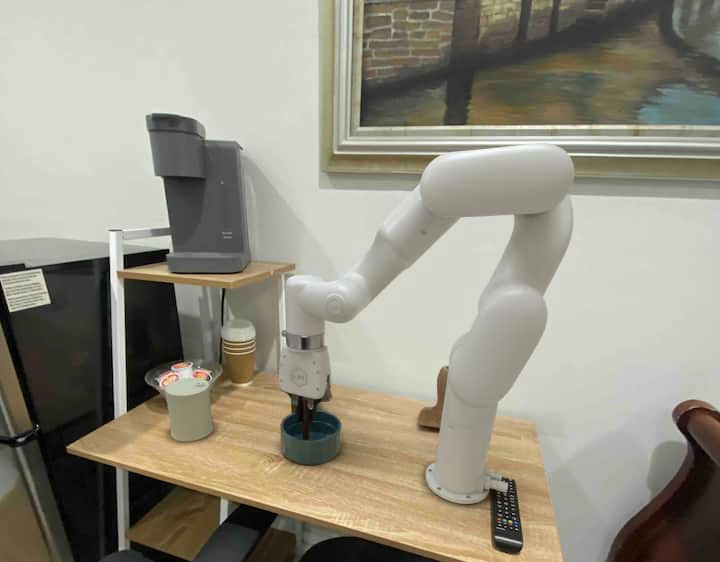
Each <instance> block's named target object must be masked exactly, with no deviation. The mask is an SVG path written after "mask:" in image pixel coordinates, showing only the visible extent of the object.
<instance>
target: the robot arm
mask: <svg viewBox="0 0 720 562" xmlns="http://www.w3.org/2000/svg"><path fill="white" fill-rule="evenodd" d="M574 181H575V166H574V162H573V160H572V157H571V156H570V155H569V153H568V152H567V151H566V150H565V149H564V148H562V147H561V146H558V145H556V144H552V143H548V142H536V143H535V142H534V143H527V144H517V145H516V144H515V145H507V146H500V147H490V148H482V149H480V148H479V149H467V150H458V151H450V152H445V153H443V154H440V155H438V156H437V157H436V158H433V160H431V161H430V162H429V163H428V164H427V166H426V167H425V169H424V170H423V172H422V175H421V177H420V182H419V183H418V185H417V186H416V187H415V188H414V189H413V190H412V191H411V192H410V194H408V196H407V197H406V198H405V199H404V200H403V201H402V202H401V203H400V204H399V205H398V207H396V209H395V210H393V212H392V213H391V214H390V215H389V216H388V217H387V218H386V219H385V220H384V221H383V222H382V223H381V225H380V226H379V228H378V229H377V232H376V235H375V237H374V240H373V242H372V244H371V246H370V247H369V249H368V250H367V251H366V252H365V254H363V256H362V257H361V258H360V259H359V260H358V261H357V262H356V263H355V264H354V265H353V267H351V269H349V271H347V273H345V275H343V276H341V277H339V278H338V279H336V280H332V281H329V282H327V281H326V282H325V280H324V278H322V277H320V276H317V275H310V274H295V275H292V276H289V277H287V280H286V281H285V286H284V290H285V329H282V331H281V334H280V335H281V337H284V338H285V343H283V344H282V347H281V351H280V356H279V364H278V365H279V366H278V387H279V389H280V391H281V392H283V393H285V394H287V395H288V397H289V399H290V400H291V399H292V400H293V404H294V405H295V415H296V422H297V423H300V422H302V398H303V397H308V407H307V408H306V409H305V424H306V425H310V424H311V423H312V422H313V421H314V420H315V419H316V405H318V406H319V404H320V403H328V402H330V401H331V400H332V399H333V397H334V396H333V394H332V391H331V388H332V367H331V366H332V365H331V357H330V353H329V347H328V345H326V322H329V323H334V324H346V323H349V322H352V321H353V320H354V319H355V318H356V317H357V316H359V314H360V313H361V312H362V311H363V310H365V309H366V308H367V307H368V306H369V305H370V304H371V303H372V302H373V301H374V300H375V299H376V298H377V297H379V295H380V294H381V293H382V292H383V291H384V290H385V289H386V288H387V287H388V286H389V285H390V284H391V283H392V282H393V281H394V280H395V279H397V278H398V276H400V275H401V274H402V273H403V272H405V271H406V270H408V269H410V268H411V267H412V266H413V265H414V264H415V263H416V262H417V261H419V259H421V257H422V256H423V255H424V254H426V252H427V251H428V250H429V249H430V248H432V246H433V245H435V244H436V243H437V242H438V241H439V240H440V239H441V238H442V237H443V236H444V235H445V234H446V233H447V232H448V231H449V230H451V228H452V227H453V226H454V225H455V224H457V222H458V221H460V219H462V218H480V217H496V216H513V228H512V232H511V234H510V235H511V236H510V238H509V240H508V242H507V244H506V246H505V248H504V251H503V253H502V255H501V257H500V260H499V261H498V263H497V265H496V267H495V269H494V271H493V273H492V275H491V276H490V279H488V282H487V284H486V285H485V287H484V289H483V290H482V292H481V294H480V295H479V299H478V303H477V314H476V316H475V318H474V321H473V322H472V325H471V326H470V328H469V331H467V332H465V333H463V334H461V335H460V336H459V337H458V338H457V339H456V340H455V341H454V343H453V345H452V346H451V348H450V349H451V350H450V353H449V360H448V366H449V369H448V376H447V384H446V391H445V398H444V405H443V412H442V419H441V426H440V428H439V435H438V440H437V448H436V455H435V461H434V462H431V463H430V464H429V465H428V466H427V467H426V471H425V478H424V479H425V483H426V484H427V486H428V487H429V489H430V490H431V491H432V492H433V493H434V494H435V495H437V496H438V497H440V498H441V499H443V500H446V501H448V502H451V503H455V504H461V505H472V504H477V503H480V502H482V501H484V500H485V499H486V498H487V497H488V496H489V493H490V489H492V490H495V491H497V492H499V493H500V492H501V493H504V494H507V493H508V489H509V482H506V481H503V480H502V479H503V478H502V477H503V475H502V474H499V473H496V472H491V471H490V469H488V462H487V461H488V455H489V452H490V446H491V440H492V436H493V430H494V426H495V421H496V416H497V413H498V412H497V411H498V406H499V402H500V401H502V399H504V397H505V396H507V394H508V393H509V392H510V390H511V389H512V387H513V386H514V384H515V383H516V381H517V379H518V378H519V376H520V375H521V373H522V371H523V369H524V368H525V367H526V366H527V365H526V364H527V363H528V361H529V360H530V358H531V356H532V355H533V353H534V351H535V349H536V348H537V346H538V345H539V342H541V340H542V337H543V335H544V332H545V329H546V327H547V324H548V315H549V313H548V307H547V303H546V299H544V296H545V294H546V292H547V290H548V288H549V286H550V284H551V282H552V281H553V279H554V277H555V275H556V272H557V270H558V269H559V267H560V264H561V263H562V261H563V259H564V257H565V255H566V253H567V251H568V248H569V246H570V243H571V239H572V235H573V230H574V208H573V203H572V200H571V199H572V198H571V196H570V192H571V190H572V189H571V188H573V187H572V186H573V184H574Z"/></svg>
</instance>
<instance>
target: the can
mask: <svg viewBox="0 0 720 562" xmlns="http://www.w3.org/2000/svg"><path fill="white" fill-rule="evenodd" d="M164 392H165V397H166V398H165V399H166V403H167V410H168V416H169V417H168V419H169V426H170V436H171V438H172V439H174V440H176V441H178V442H185V443H187V442H188V443H189V442H195V441H198V440H201V439H204V438H206V437H208V436H209V435H211V434H212V432H213V431H214V425H213V423H214V422H213V419H212V417H213V416H212V407H211V395H210V383H209V381H208V380H206V379H203V378H200V377H185V378H180V379H177V380H174V381H171V382H170V383H168V384H167V385H165V387H164Z"/></svg>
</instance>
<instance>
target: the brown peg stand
mask: <svg viewBox="0 0 720 562" xmlns="http://www.w3.org/2000/svg"><path fill="white" fill-rule="evenodd" d="M307 407H308V397H303V398H302V435H303V438H300V439H301V440H314V439H312V438H309V425H306V424H305V409H306V408H307Z"/></svg>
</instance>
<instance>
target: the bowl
mask: <svg viewBox="0 0 720 562" xmlns="http://www.w3.org/2000/svg"><path fill="white" fill-rule="evenodd" d="M342 427H343V425H342V421H341V419H340V418H339V417H338V416H337V415H335V414H333V413H332V412H329V411H326V410H321V409H317V410H316V419H315V420H314V421H313V422H312V423H311V424H310V425H309V438H312V439H314V440H301V439H300V438H303V435H302V422H300V423H297V422H296V415H295V412H294V413H292V412H291V413H289V414H288V415H286V416H285V417H284V418H283V419H282V420H281V422H280V424H279V431H280V452H281V453H282V454H283V456H284V457H285V458H286V459H287V460H288V461H291V462H293V463H295V464H298V465H302V466H303V465H304V466H316V465H321V464H322V465H323V464H324V463H328V462H330V461H332V460H333V459H334V458H336V456H337V455H338V453H339V452H340V451H341V448H342V447H341V446H342V429H343V428H342Z"/></svg>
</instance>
